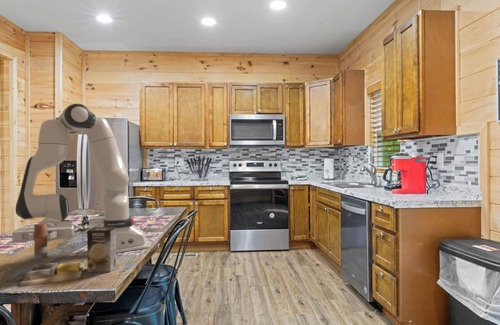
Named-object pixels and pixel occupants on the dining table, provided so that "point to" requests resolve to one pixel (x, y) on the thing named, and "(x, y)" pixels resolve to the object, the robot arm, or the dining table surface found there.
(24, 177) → the robot arm
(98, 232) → the coffee box
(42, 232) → the terracotta peg
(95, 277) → the dining table surface
